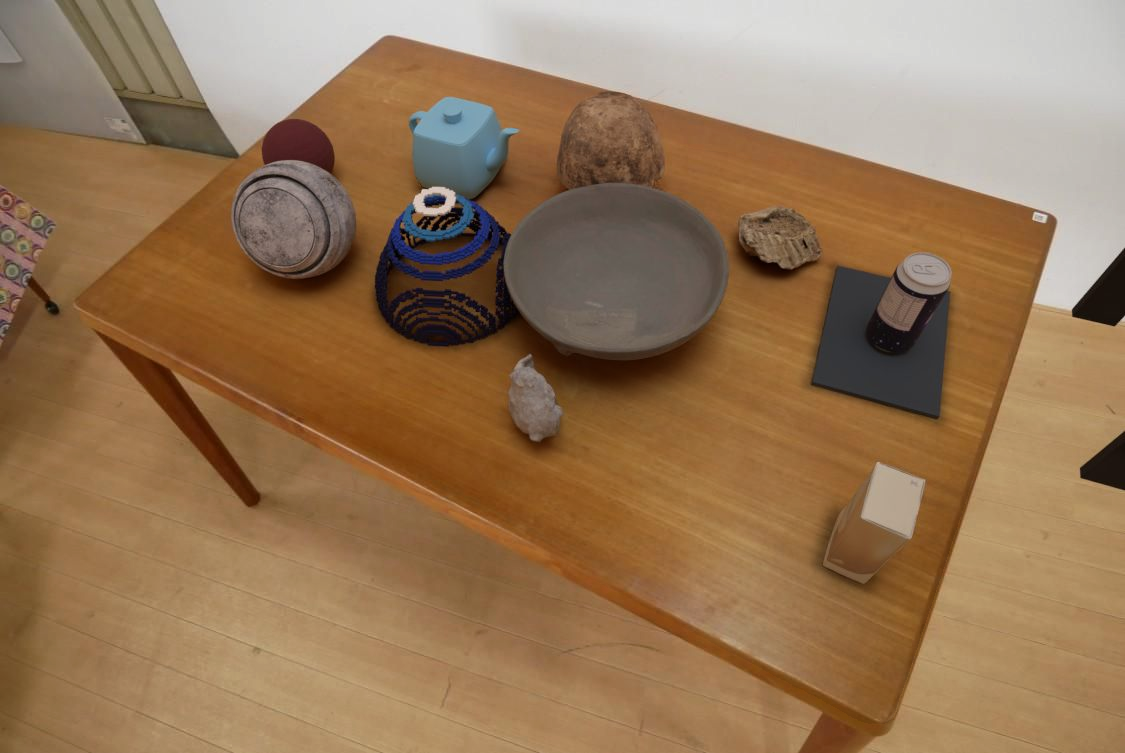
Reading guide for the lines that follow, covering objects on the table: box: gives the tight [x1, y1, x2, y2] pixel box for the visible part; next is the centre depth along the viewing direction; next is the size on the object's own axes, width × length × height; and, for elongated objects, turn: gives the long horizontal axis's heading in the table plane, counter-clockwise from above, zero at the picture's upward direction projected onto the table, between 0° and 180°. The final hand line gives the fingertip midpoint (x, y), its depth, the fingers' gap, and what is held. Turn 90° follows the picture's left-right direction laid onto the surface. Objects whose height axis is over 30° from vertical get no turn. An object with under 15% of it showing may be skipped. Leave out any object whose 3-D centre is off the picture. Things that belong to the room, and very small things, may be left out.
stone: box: [508, 353, 564, 443], centre depth 75 cm, size 9×7×10 cm
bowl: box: [503, 183, 730, 361], centre depth 84 cm, size 26×26×10 cm
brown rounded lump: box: [555, 90, 666, 190], centre depth 96 cm, size 15×16×15 cm
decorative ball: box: [261, 118, 336, 175], centre depth 101 cm, size 10×10×10 cm
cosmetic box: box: [822, 461, 926, 585], centre depth 64 cm, size 6×4×12 cm
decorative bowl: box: [374, 187, 521, 347], centre depth 86 cm, size 20×20×14 cm
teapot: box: [408, 96, 520, 200], centre depth 100 cm, size 12×18×12 cm
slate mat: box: [810, 265, 951, 420], centre depth 85 cm, size 20×14×1 cm
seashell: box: [737, 205, 823, 270], centre depth 91 cm, size 11×7×10 cm
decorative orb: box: [230, 160, 357, 280], centre depth 90 cm, size 15×14×15 cm
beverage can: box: [866, 252, 953, 352], centre depth 79 cm, size 6×6×12 cm
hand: (1097, 392), depth 46 cm, fingers open, 13 cm apart
